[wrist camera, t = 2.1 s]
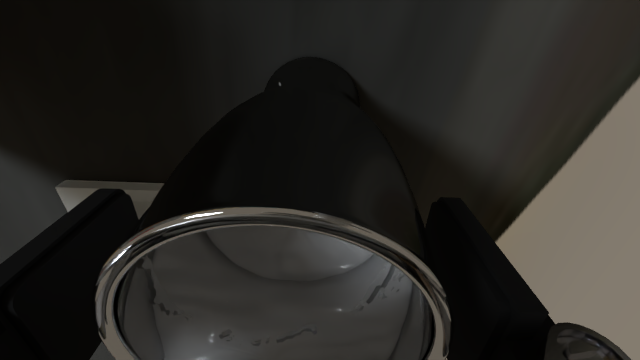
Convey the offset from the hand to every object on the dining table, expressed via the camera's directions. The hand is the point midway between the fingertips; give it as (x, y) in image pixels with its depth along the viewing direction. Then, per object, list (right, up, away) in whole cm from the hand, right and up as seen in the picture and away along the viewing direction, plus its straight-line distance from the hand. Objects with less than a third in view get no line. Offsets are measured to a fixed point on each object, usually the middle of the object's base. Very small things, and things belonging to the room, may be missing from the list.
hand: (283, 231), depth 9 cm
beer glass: (+1, +6, +9) cm, 11 cm away
